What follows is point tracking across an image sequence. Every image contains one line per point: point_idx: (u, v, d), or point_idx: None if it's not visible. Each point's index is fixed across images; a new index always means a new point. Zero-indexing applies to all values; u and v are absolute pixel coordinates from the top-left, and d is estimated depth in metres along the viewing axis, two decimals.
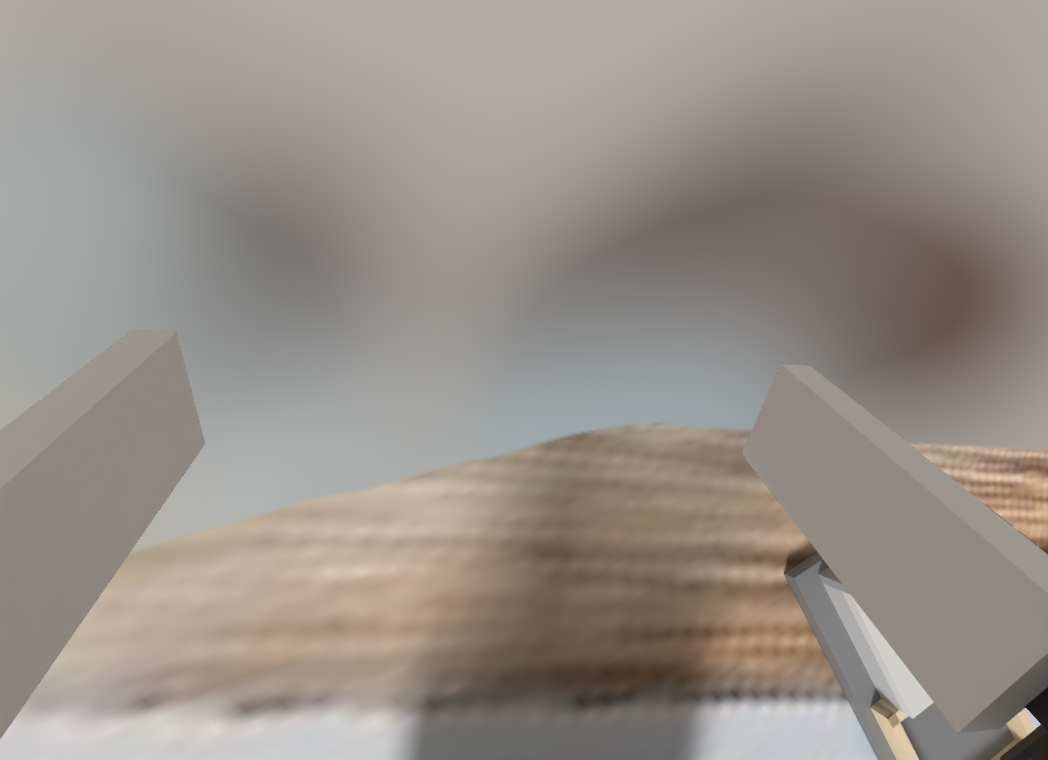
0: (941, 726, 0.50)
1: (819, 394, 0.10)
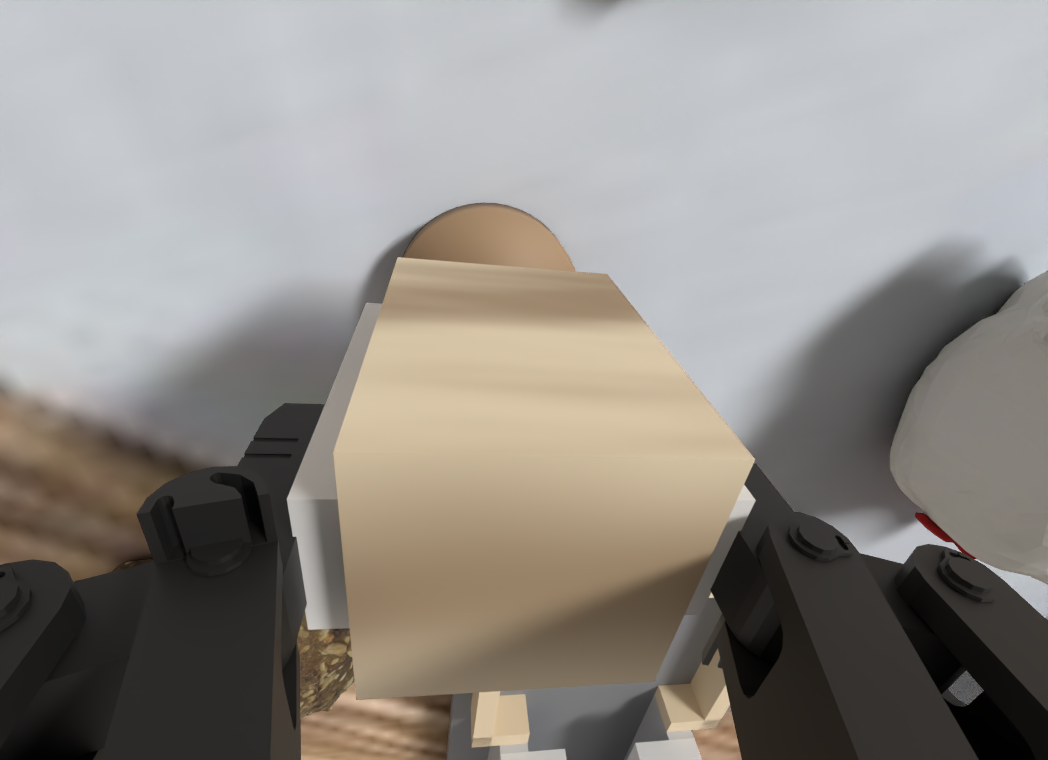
0: None
1: None
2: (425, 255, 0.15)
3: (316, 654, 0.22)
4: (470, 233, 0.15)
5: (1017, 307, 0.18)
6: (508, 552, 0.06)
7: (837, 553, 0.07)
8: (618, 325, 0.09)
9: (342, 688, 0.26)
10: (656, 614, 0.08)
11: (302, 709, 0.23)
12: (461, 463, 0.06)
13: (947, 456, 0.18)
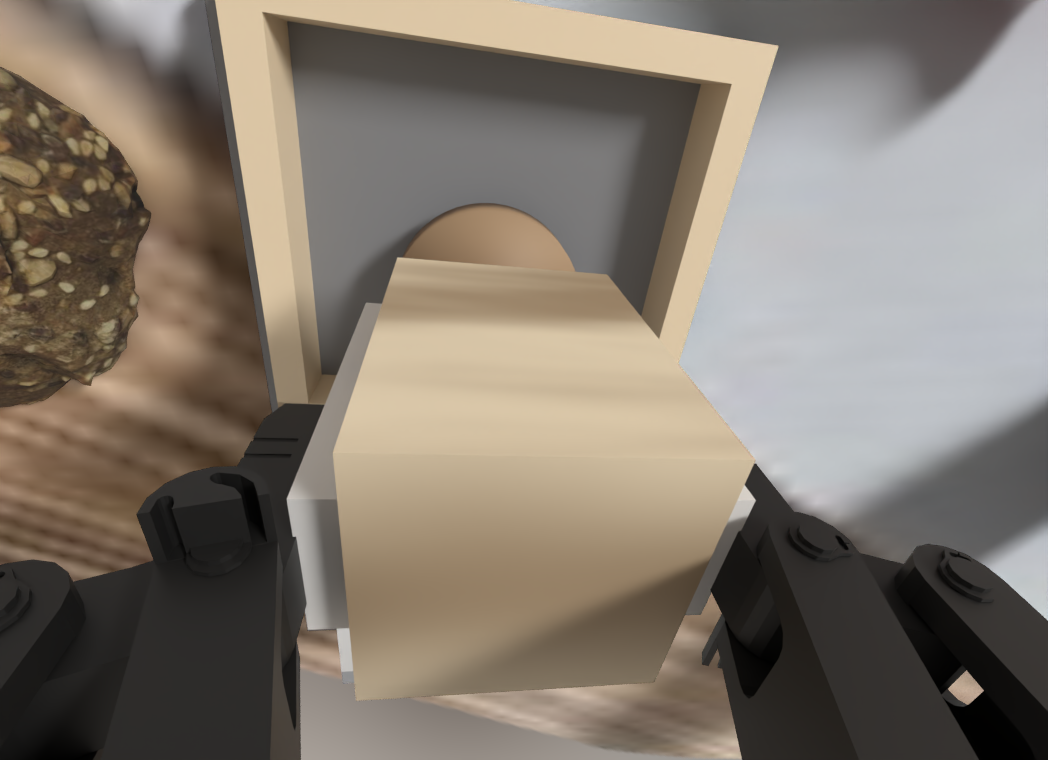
0: None
1: None
2: (425, 256, 0.15)
3: None
4: (470, 233, 0.15)
5: None
6: (508, 552, 0.06)
7: (837, 553, 0.07)
8: (619, 325, 0.09)
9: (94, 333, 0.17)
10: (656, 614, 0.08)
11: None
12: (460, 463, 0.06)
13: None
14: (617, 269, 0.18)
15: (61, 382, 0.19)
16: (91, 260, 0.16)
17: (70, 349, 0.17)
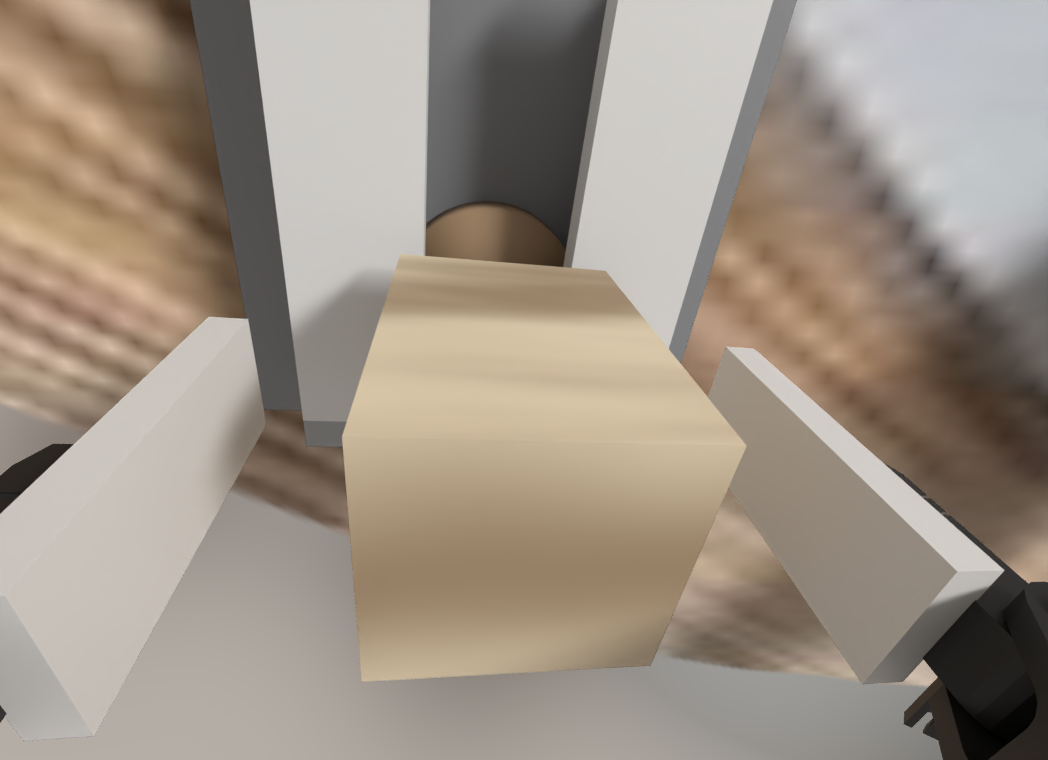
0: None
1: (757, 374, 0.11)
2: (427, 253, 0.15)
3: None
4: (471, 231, 0.15)
5: None
6: (510, 536, 0.07)
7: None
8: (616, 319, 0.10)
9: None
10: (652, 598, 0.08)
11: None
12: (464, 448, 0.06)
13: None
14: None
15: None
16: None
17: None
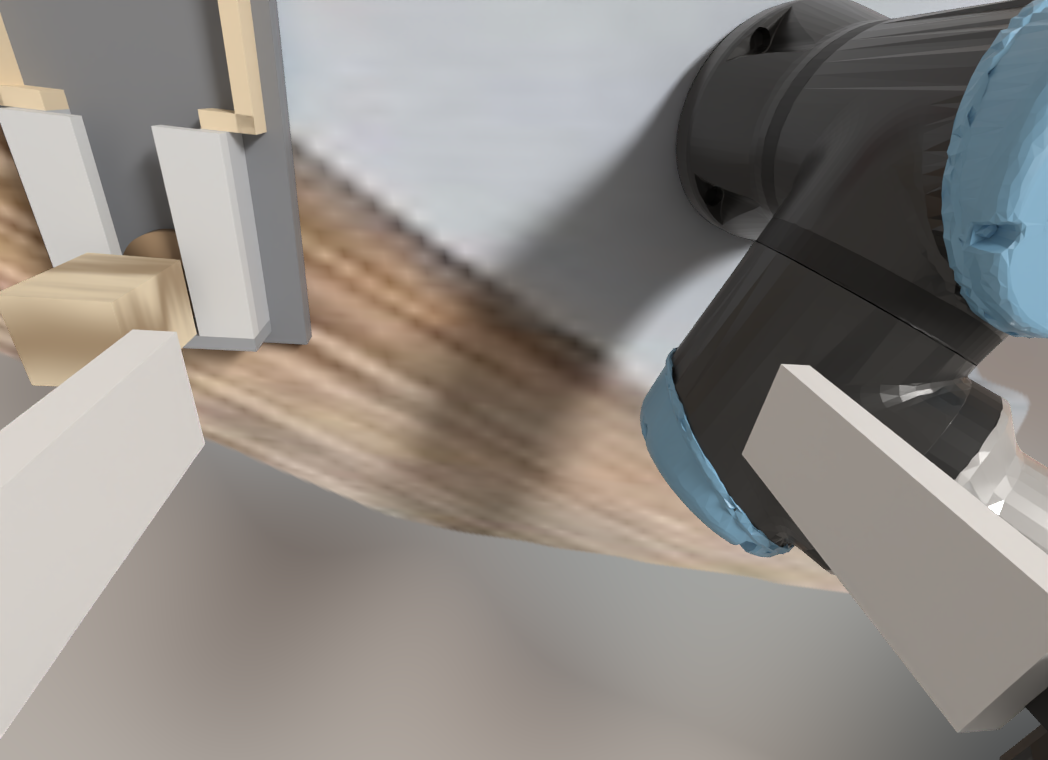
0: None
1: (820, 394, 0.10)
2: (133, 252, 0.33)
3: None
4: (152, 242, 0.33)
5: None
6: (55, 328, 0.24)
7: None
8: (141, 275, 0.27)
9: None
10: None
11: None
12: (27, 299, 0.24)
13: None
14: (207, 9, 0.28)
15: None
16: None
17: None
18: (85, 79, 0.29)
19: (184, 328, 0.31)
